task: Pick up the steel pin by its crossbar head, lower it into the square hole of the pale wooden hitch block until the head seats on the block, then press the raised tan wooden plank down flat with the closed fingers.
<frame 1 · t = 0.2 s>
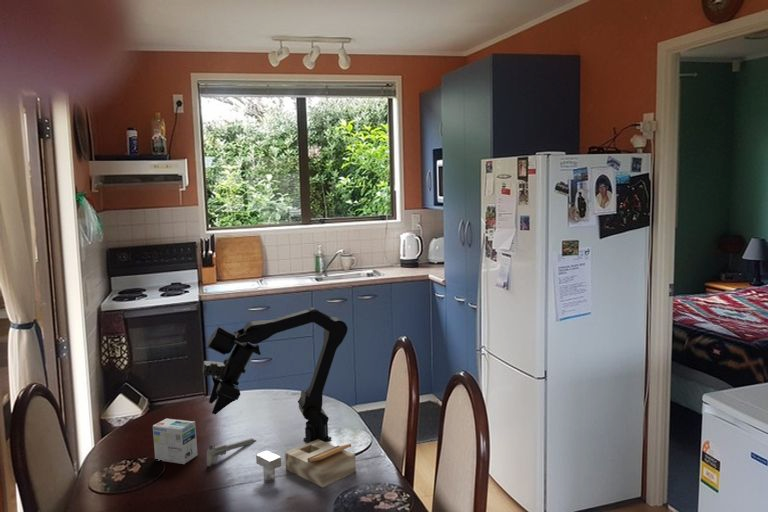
hand: (211, 408, 185), 15 cm above the table, tool tilted 30°, fingers open, 9 cm apart
hitch block: (320, 470, 176), on the table
caliper: (232, 454, 189), on the table
steel pin: (269, 480, 171), on the table
light bulb box: (176, 458, 187), on the table
tan wooden plank: (329, 452, 172), point 7 cm above the table, hinge at 24.0°
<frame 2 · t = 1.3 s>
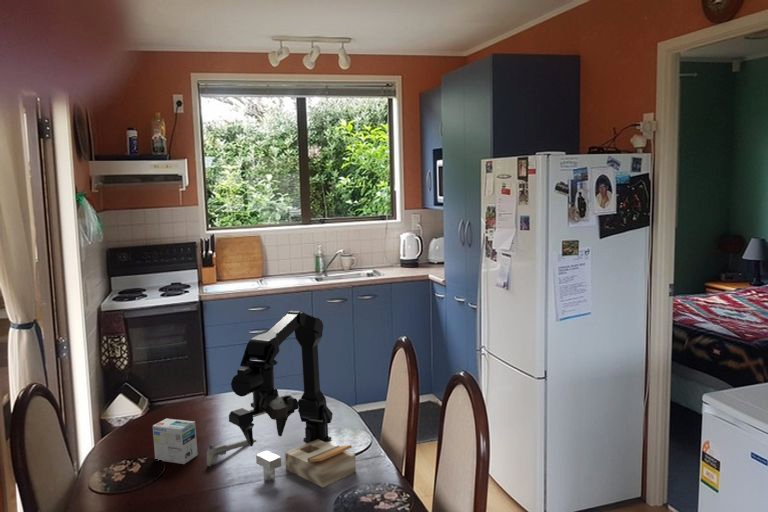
hand: (265, 440, 170), 11 cm above the table, tool pointing down, fingers open, 9 cm apart
tan wooden plank: (329, 452, 172), point 6 cm above the table, hinge at 20.2°
everything else where it was.
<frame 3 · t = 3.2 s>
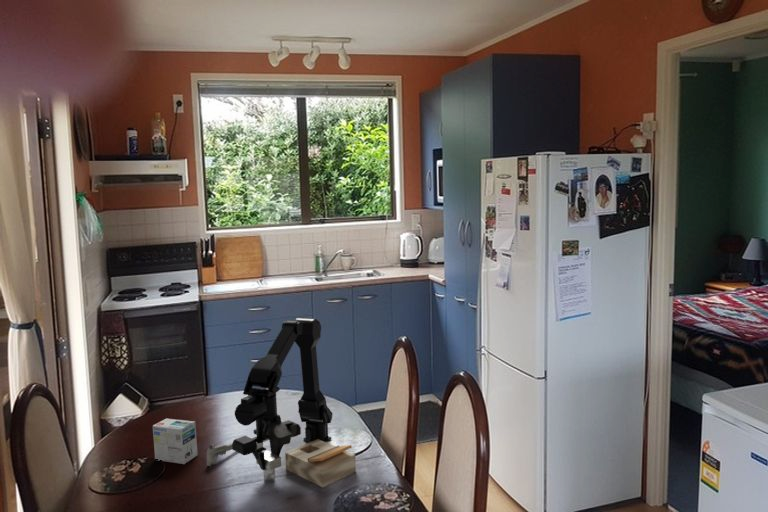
hand: (268, 467, 170), 4 cm above the table, tool pointing down, fingers closed on steel pin, 4 cm apart
steel pin: (269, 480, 171), on the table, touching gripper
everything else where it was.
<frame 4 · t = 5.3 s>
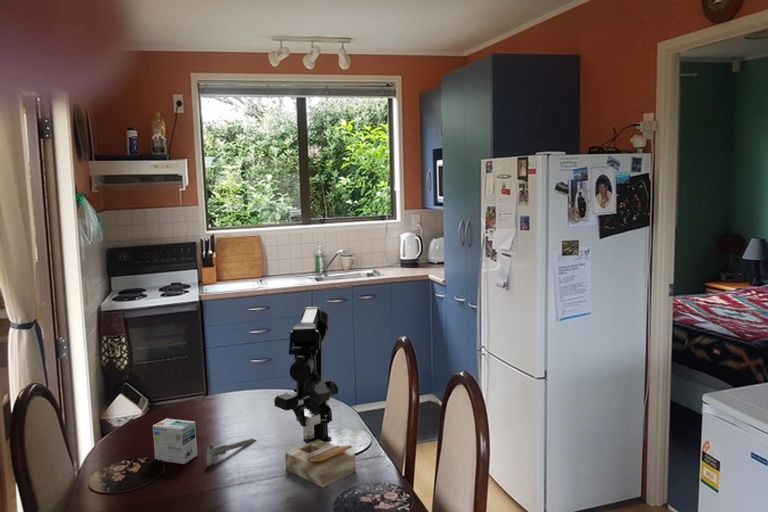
hand: (308, 424, 177), 12 cm above the table, tool pointing down, fingers closed on steel pin, 4 cm apart
steel pin: (308, 436, 178), point 9 cm above the table, touching gripper
everything else where it was.
when the fingers open (6 cm above the table, at t = 7.4 s): steel pin drops 2 cm, resting on hitch block.
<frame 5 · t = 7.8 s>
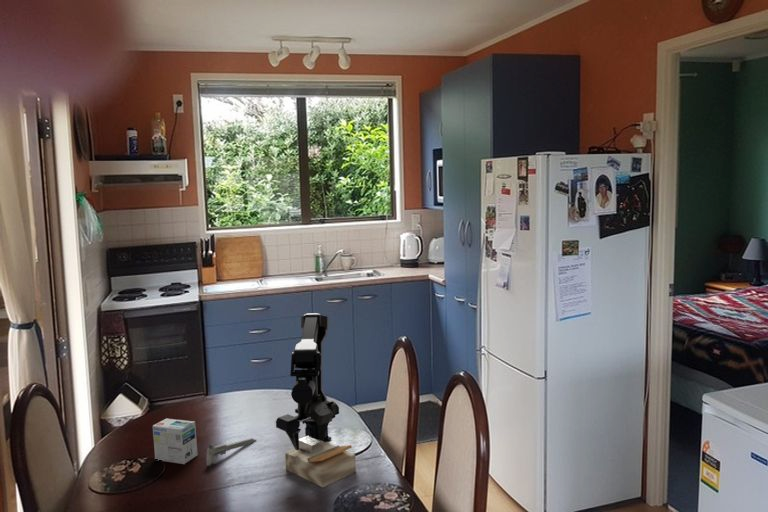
hand: (309, 444, 178), 6 cm above the table, tool pointing down, fingers open, 9 cm apart
steel pin: (310, 464, 179), resting on hitch block
everything else where it was.
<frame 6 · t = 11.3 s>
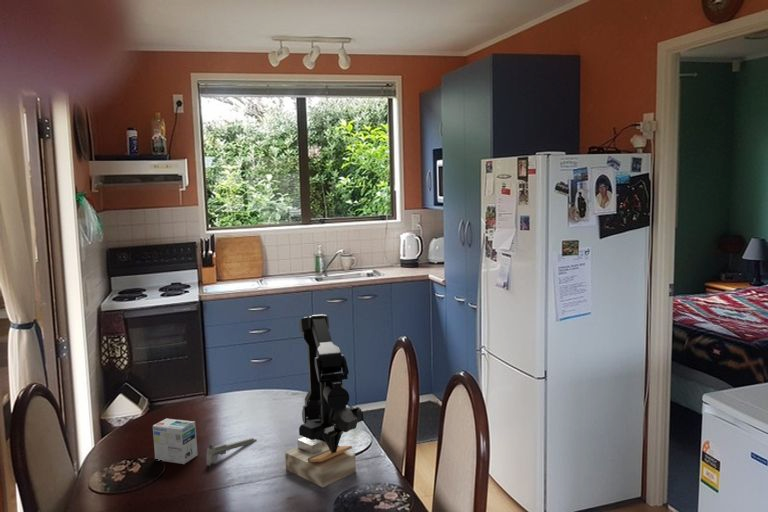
hand: (333, 452, 171), 7 cm above the table, tool pointing down, fingers closed, pressing on tan wooden plank
tan wooden plank: (329, 453, 172), point 6 cm above the table, hinge at 18.2°, touching gripper
everything else where it was.
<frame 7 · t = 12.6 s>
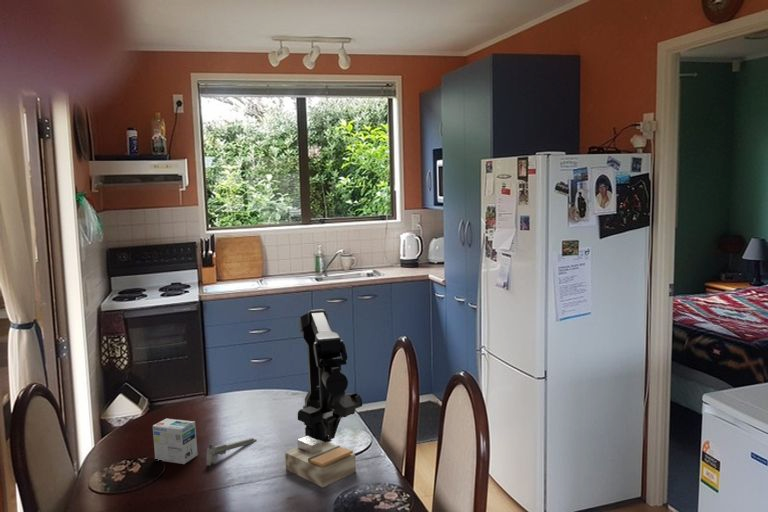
hand: (332, 438, 171), 11 cm above the table, tool pointing down, fingers closed
tan wooden plank: (330, 455, 172), point 6 cm above the table, hinge at 5.0°
everything else where it was.
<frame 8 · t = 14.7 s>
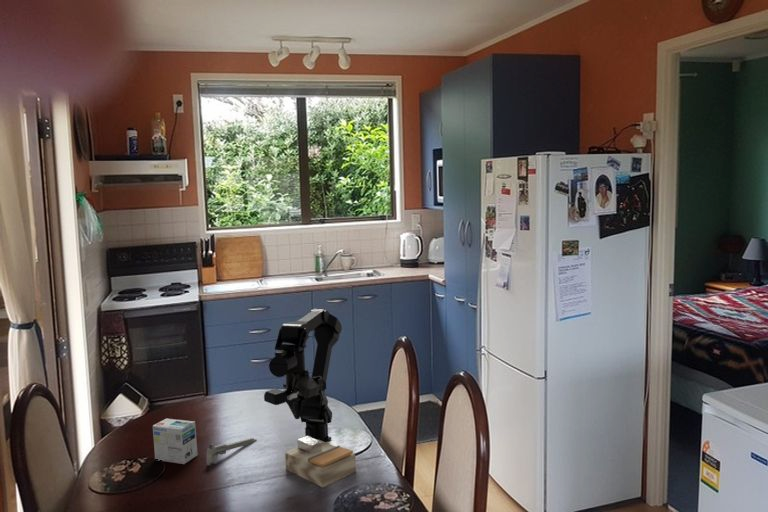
hand: (297, 418, 183), 12 cm above the table, tool pointing down, fingers closed
tan wooden plank: (330, 455, 172), point 6 cm above the table, hinge at 4.5°
everything else where it was.
at the end: steel pin 0.0 cm from the target spot on the hitch block, point 0.5 cm above the hitch block's base; steel pin tilted 0° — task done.
